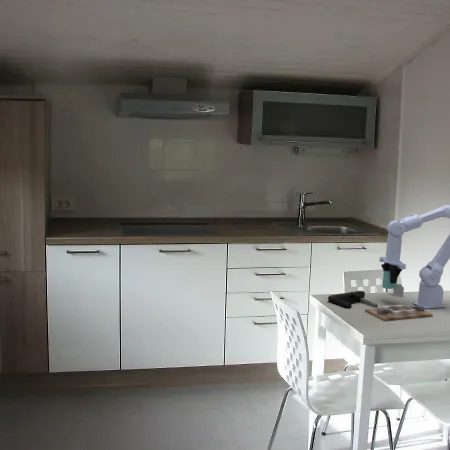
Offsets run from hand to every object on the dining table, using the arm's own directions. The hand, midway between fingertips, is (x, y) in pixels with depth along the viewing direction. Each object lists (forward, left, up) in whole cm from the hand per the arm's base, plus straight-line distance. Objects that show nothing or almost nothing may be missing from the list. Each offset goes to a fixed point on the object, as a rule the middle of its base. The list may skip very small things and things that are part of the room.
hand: (390, 282), depth 247 cm
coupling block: (0, 0, -2) cm, 2 cm away
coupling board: (+6, +14, -9) cm, 18 cm away
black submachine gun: (+14, -3, -10) cm, 17 cm away
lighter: (-11, -10, -9) cm, 17 cm away
